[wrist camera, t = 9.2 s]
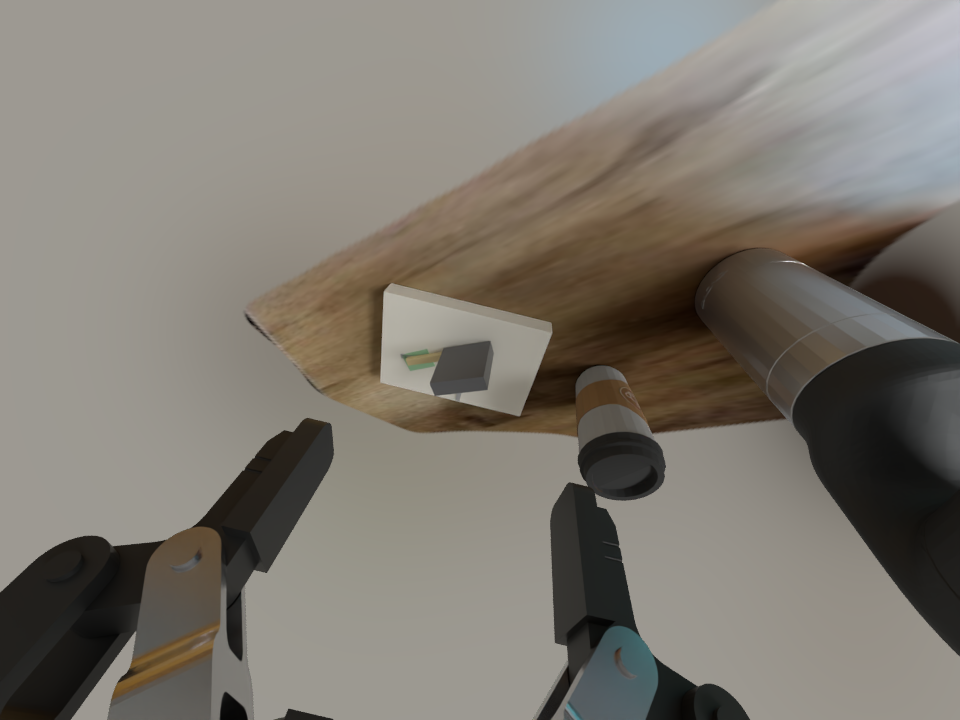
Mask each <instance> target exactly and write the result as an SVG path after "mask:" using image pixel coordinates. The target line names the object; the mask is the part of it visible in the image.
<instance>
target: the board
mask: <svg viewBox="0 0 960 720" xmlns="http://www.w3.org/2000/svg"><path fill="white" fill-rule="evenodd" d="M551 335H552V323H551V322H547V321H543V320H539V319H535V318H531V317H527V316H523V315H519V314H515V313H511V312H507V311H502V310H498V309H494V308H490V307H486V306H482V305H478V304H474V303H470V302H466V301H462V300H458V299H454V298H450V297H446V296H442V295H438V294H434V293H430V292H425V291H421V290H417V289H413V288H409V287H405V286H401V285H397V284H393V283H391V284H390V285H389V286H388V287H387V288H386V289H385V291H384V298H383V325H382V352H381V379H380V383H384V384H388V385H392V386H396V387H400V388H405V389H409V390H413V391H417V392H421V393H425V394H429V395H433V396H435V395H434V393H433V390H432V388H431V386H430V381H431V378H432V376H433V373H434V371H435V368H436V366H437V363H438V362H431V363H424V364H417V365H410V366H408V364H407V362H406V358H407V357H410V356H417V355H424V354H430V353H437V352H442V351H443V348H447V347H453V346H460V345H467V344H473V343H480V342H487V341H491V345H492V348H493V352H494V355H493V361H492V367H491V373H490V379H489V385H488V390H483V391H474V392H465V393H457V394H448V395H439V396H438V397H442V398H446V399H450V400H454V401H458V402H462V403H466V404H471V405H475V406H479V407H483V408H487V409H491V410H495V411H499V412H504V413H508V414H512V415H516V416H520V415H521V412H522V410H523V407H524V404H525V402H526V399H527V397H528V394H529V392H530V389H531V387H532V384H533V381H534V379H535V376H536V374H537V371H538V369H539V366H540V364H541V361H542V358H543V356H544V353H545V351H546V348H547V346H548V343H549V341H550V338H551Z"/></svg>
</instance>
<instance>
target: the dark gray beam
mask: <svg viewBox="0 0 960 720" xmlns="http://www.w3.org/2000/svg"><path fill="white" fill-rule="evenodd" d="M493 355H494V352H493V348H492V345H491V341H487V342H480V343H473V344H467V345H460V346H453V347H447V348H443V351H442V352H437V353H430V354H424V355H417V356H410V357H407V358H406V362H407V364H408V366H410V365H417V364H424V363H431V362H438V363H437V366H436V368H435V371H434V373H433V376H432V378H431V381H430V386H431V388H432V390H433V393H434V395H435V396H439V395H448V394H457V393H465V392H474V391H483V390H488V385H489V379H490V373H491V367H492V361H493Z"/></svg>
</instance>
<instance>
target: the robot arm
mask: <svg viewBox="0 0 960 720" xmlns="http://www.w3.org/2000/svg"><path fill="white" fill-rule="evenodd" d="M695 308H696V312H697V314H698V316H699V317H700V319H701V320H702V321H703V322H704V324H705V325H706V326H707V327H708V328H709V329H710V331H711V332H712V333H713V334H714V335H715V337H716V338H717V339H718V340H719V341H720V342H721V344H722V345H723V346H724V347H725V348H726V349H727V350H728V352H729V353H730V354H731V355H732V356H733V357H734V359H735V360H736V361H737V362H738V363H739V364H740V365H741V367H742V368H743V369H744V370H745V371H746V372H747V374H748V375H749V376H750V377H751V378H752V379H753V380H754V382H755V383H756V384H757V385H758V386H759V387H760V388H761V390H762V391H763V392H764V393H765V394H766V395H767V397H768V398H769V399H770V400H771V401H772V402H773V403H774V405H775V406H776V407H777V408H778V409H779V410H780V411H781V412H782V414H783V415H784V416H785V417H786V418H787V419H788V421H789V422H790V423H791V424H792V425H793V426H794V427H795V429H796V430H797V431H798V432H799V434H800V435H801V436H802V437H803V438H804V440H805V441H806V443H807V445H808V449H809V454H810V459H811V462H812V465H813V467H814V470H815V472H816V474H817V475H818V477H819V479H820V480H821V482H822V484H823V485H824V487H825V488H826V489H827V491H828V492H829V493H830V495H831V496H832V498H833V499H834V500H835V502H836V503H837V504H838V506H839V507H840V508H841V510H842V511H843V513H844V514H845V515H846V517H847V518H848V520H849V521H850V522H851V524H852V525H853V526H854V528H855V529H856V531H857V532H858V533H859V535H860V536H861V538H862V539H863V540H864V542H865V543H866V544H867V546H868V547H869V549H870V550H871V551H872V553H873V554H874V555H875V557H876V558H877V560H878V561H879V562H880V564H881V565H882V566H883V567H884V569H885V570H886V572H887V573H888V574H889V576H890V577H891V578H892V580H893V581H894V582H895V584H896V585H897V586H898V588H899V589H900V590H901V592H902V593H903V594H904V595H905V597H906V598H907V599H908V600H909V601H910V603H911V604H912V605H913V606H914V608H915V609H916V610H917V611H918V612H919V614H920V615H921V616H922V617H923V618H924V619H925V620H926V622H927V623H928V624H929V625H930V626H931V627H932V628H933V629H934V630H935V631H936V633H937V634H938V635H939V636H940V637H941V638H942V639H943V640H944V641H945V642H946V643H947V644H948V645H949V646H950V647H951V648H952V649H953V650H954V651H955V652H956V653H957V654H958V655H959V656H960V344H959V343H957V342H955V341H953V340H951V339H949V338H947V337H945V336H943V335H941V334H939V333H937V332H935V331H933V330H931V329H930V328H928V327H925V326H924V325H922V324H920V323H918V322H916V321H914V320H911V319H909V318H908V317H906V316H903V315H902V314H900V313H898V312H896V311H894V310H892V309H890V308H888V307H886V306H884V305H882V304H880V303H878V302H877V301H874V300H873V299H871V298H869V297H867V296H865V295H863V294H861V293H859V292H857V291H855V290H853V289H851V288H849V287H847V286H845V285H844V284H842V283H840V282H838V281H836V280H834V279H832V278H830V277H828V276H826V275H824V274H822V273H820V272H818V271H816V270H814V269H812V268H811V267H809V266H807V265H805V264H803V263H801V262H799V261H797V260H795V259H793V258H791V257H789V256H787V255H786V254H784V253H782V252H780V251H777V250H773V249H767V248H757V249H750V250H745V251H742V252H739V253H736V254H734V255H732V256H730V257H728V258H726V259H724V260H723V261H722V262H720V263H719V264H717V265H716V266H715V267H714V268H713V269H712V270H711V271H709V272H708V273H707V275H706V276H705V277H704V279H703V280H702V281H701V283H700V285H699V287H698V289H697V292H696V296H695ZM333 455H334V449H333V437H332V426H331V424H330V423H327V422H323V421H318V420H314V419H310V418H306V419H304V420H303V421H302V422H301V423H300V425H299V426H298V427H297V428H296V430H295V431H294V432H289V431H285V430H284V431H283V432H281V433H280V434H278V435H276V436H275V437H273V438H272V439H270V440H269V441H267V442H266V444H265V445H264V446H263V447H262V448H261V450H260V451H259V452H258V453H257V454H256V456H255V458H254V459H252V460H251V461H250V463H249V464H248V465H247V466H246V468H245V470H244V471H242V472H241V473H240V475H239V476H238V477H237V478H236V479H235V481H234V482H233V483H232V484H231V485H230V487H229V488H228V489H227V490H226V491H225V492H224V494H223V495H222V496H221V497H220V498H219V500H218V501H217V502H216V503H215V504H214V505H213V507H212V508H211V509H210V510H209V511H208V513H207V514H206V515H205V516H204V517H203V518H202V519H201V520H200V521H199V522H198V523H197V524H196V525H194V526H193V527H192V528H190V529H186V530H184V531H181V532H179V533H177V534H175V535H173V536H172V537H170V538H169V539H167V540H164V541H158V542H152V543H141V544H131V545H121V546H111V545H110V543H109V542H108V541H107V540H105V539H104V538H102V537H98V536H83V537H79V538H75V539H72V540H68V541H66V542H63V543H61V544H59V545H57V546H55V547H53V548H52V549H50V550H48V551H47V552H45V553H44V554H43V555H41V556H40V557H38V558H37V559H36V560H35V561H34V562H33V563H32V564H31V565H29V566H28V567H27V568H26V569H25V570H24V571H23V572H22V573H21V574H20V575H19V576H18V577H17V578H15V580H13V581H12V582H11V583H10V584H9V585H8V586H7V587H6V588H5V589H4V590H3V591H1V592H0V720H71V719H72V717H73V716H74V714H75V713H76V712H77V710H78V709H79V708H80V706H81V705H82V703H83V702H84V701H85V699H86V698H87V697H88V695H89V694H90V692H91V691H92V690H93V688H94V687H95V686H96V684H97V683H98V681H99V680H100V679H101V677H102V676H103V675H104V673H105V672H106V670H107V669H108V668H109V666H110V665H111V664H112V662H113V661H114V659H115V658H116V657H117V655H118V654H119V653H120V651H121V650H122V648H123V647H124V646H125V644H126V643H127V642H128V640H129V639H130V638H131V636H132V635H133V634H134V632H135V631H136V638H135V645H134V651H133V657H132V662H131V666H130V668H129V670H128V672H127V673H126V674H125V675H124V676H122V677H121V678H120V680H119V681H118V683H117V685H116V687H115V690H114V692H113V695H112V699H111V703H110V708H109V713H108V719H107V720H254V712H253V692H252V683H251V676H250V672H249V668H248V660H247V642H246V641H247V639H246V612H245V611H246V609H245V584H246V582H247V580H248V579H249V577H250V576H251V574H252V572H253V570H257V571H261V572H265V573H267V571H268V570H269V568H270V567H271V565H272V563H273V562H274V560H275V558H276V557H277V555H278V553H279V552H280V550H281V548H282V547H283V545H284V543H285V542H286V540H287V538H288V537H289V535H290V533H291V532H292V530H293V528H294V526H295V525H296V523H297V521H298V520H299V518H300V516H301V515H302V513H303V511H304V510H305V508H306V506H307V505H308V503H309V501H310V500H311V498H312V496H313V495H314V493H315V491H316V490H317V488H318V486H319V484H320V483H321V481H322V480H323V478H324V476H325V474H326V473H327V471H328V469H329V467H330V465H331V462H332V459H333ZM550 529H551V551H552V552H551V554H552V578H553V605H554V629H555V643H557V644H561V645H566V646H567V650H568V661H567V662H566V664H565V665H564V667H563V669H562V670H561V672H560V674H559V675H558V677H557V679H556V680H555V682H554V684H553V686H552V687H551V689H550V691H549V692H548V694H547V696H546V698H545V699H544V701H543V703H542V704H541V706H540V708H539V709H538V711H537V713H536V715H535V716H534V718H533V720H750V719H749V717H748V716H747V714H746V712H745V711H744V710H743V708H742V706H741V705H740V704H739V703H738V702H737V701H736V699H735V698H734V697H733V696H731V695H730V694H729V693H728V692H727V691H725V690H724V689H723V688H721V687H719V686H716V685H714V684H704V685H702V686H699V687H698V686H696V685H694V684H693V683H692V682H690V681H688V680H687V679H685V678H684V677H682V676H681V675H679V674H678V673H676V672H675V671H673V670H671V669H670V668H669V667H667V666H665V665H664V664H663V663H661V662H660V661H659V660H658V659H657V658H656V657H655V656H654V655H653V654H652V653H651V651H650V650H649V648H648V646H647V645H646V643H645V642H644V641H643V640H642V638H641V637H640V635H639V633H638V630H637V627H636V624H635V620H634V615H633V611H632V605H631V600H630V596H629V591H628V585H627V581H626V575H625V571H624V566H623V563H622V556H621V551H620V548H619V541H618V536H617V531H616V526H615V524H614V522H613V521H612V519H611V517H610V515H609V513H608V512H607V510H606V509H604V508H600V507H597V503H596V498H595V492H594V490H593V488H591V487H587V486H583V485H579V484H574V483H568V484H567V485H566V487H565V488H564V490H563V492H562V494H561V495H560V497H559V498H558V500H557V502H556V503H555V505H554V507H553V509H552V514H551V520H550ZM275 720H333V719H331V718H326V717H322V716H317V715H313V714H309V713H305V712H301V711H296V710H292V709H288V711H287V714H286V716H285V717H284V718H278V719H275Z"/></svg>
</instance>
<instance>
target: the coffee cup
mask: <svg viewBox="0 0 960 720" xmlns="http://www.w3.org/2000/svg"><path fill="white" fill-rule="evenodd" d="M576 419H577V435H578V440H579V455H578V465H579V467H580V472H581V475H582V477H583V479H584V480H585V481H586V482H587V485H588V487H591V488H593V490H594V492H595V493H596V494H597V495H599V496H601V497H605V498H607V499H612V500H634V499H638V498H642V497H645V496H648V495H649V494H651V493H653V492H655V491H656V490H657V489H659V487H660V486H661V485H662V483H663V481H664V477H665V476H664V471H665V467H666V465H665V460H664V457H663V452H662V449H661V447H660V446H659V445H658V443H657V442H656V441H655V439H654V437H653V435H652V433H651V431H650V429H649V427H648V423H647V421H646V419H645V417H644V415H643V413H642V410H641V408H640V406H639V404H638V402H637V400H636V398H635V396H634V394H633V392H632V390H631V389H630V387H629V386H628V384H627V381H626V379H625V378H624V376H623V375H622V373H620V372H619V371H618V370H616V369H614V368H612V367H610V366H595V367H591V368H589V369H587V370H585V371H584V372H583V373H582V374H581V375H580V377H579V378H578V379H577V382H576Z"/></svg>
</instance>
